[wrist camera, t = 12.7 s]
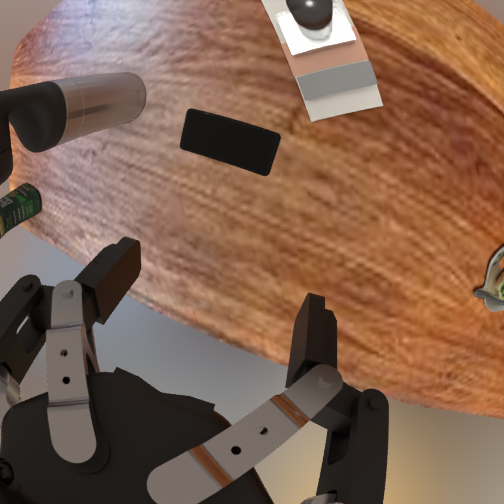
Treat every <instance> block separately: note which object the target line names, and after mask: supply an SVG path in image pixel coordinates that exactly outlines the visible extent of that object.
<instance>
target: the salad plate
mask: <svg viewBox="0 0 504 504" xmlns="http://www.w3.org/2000/svg"><path fill="white" fill-rule="evenodd" d="M503 256H504V246H503V247H502V248H500V249H499V250H498V251H497V252H496V253H495V255H494V256H493V257H492V259H491V261H490V263H489V266H488V269H487V274H486V280H485V284H484V286H483V288H481V289H477V290H476V291H475V292H474V296H475V297H478V298H483V299H484V303H485V305H486V306H487V308H488V309H489V310H491V311H493V312H496V311H501V310H504V268H503V269H502V270H500V268H499V262H500V260H501V259H502V258H503Z"/></svg>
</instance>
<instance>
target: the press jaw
mask: <svg viewBox="0 0 504 504" xmlns="http://www.w3.org/2000/svg"><path fill="white" fill-rule="evenodd" d="M286 4H287V7H288V9H289V10H287V11H284V12H281V13H278V14H275V16H276V19H277V21H278V23H279V25H280V27H281V29H282V32H283V34H284V36H285V38H286V41H287V43H288V45H289V48H290V50H291V52H292V55H293V56H294V57H295V58H296V57H300V56H303V55H307V54H310V53H314V52H318V51H322V50H326V49H330V48H335V47H339V46H344V45H349V44H354V43H355V41H356V38H355V35H354V33H353V30H352V28H351V26H350V24H349V21H348V19H347V17H346V15H345V13H344V11H343V9H342V7H341V4H340V2H339V0H286Z"/></svg>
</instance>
